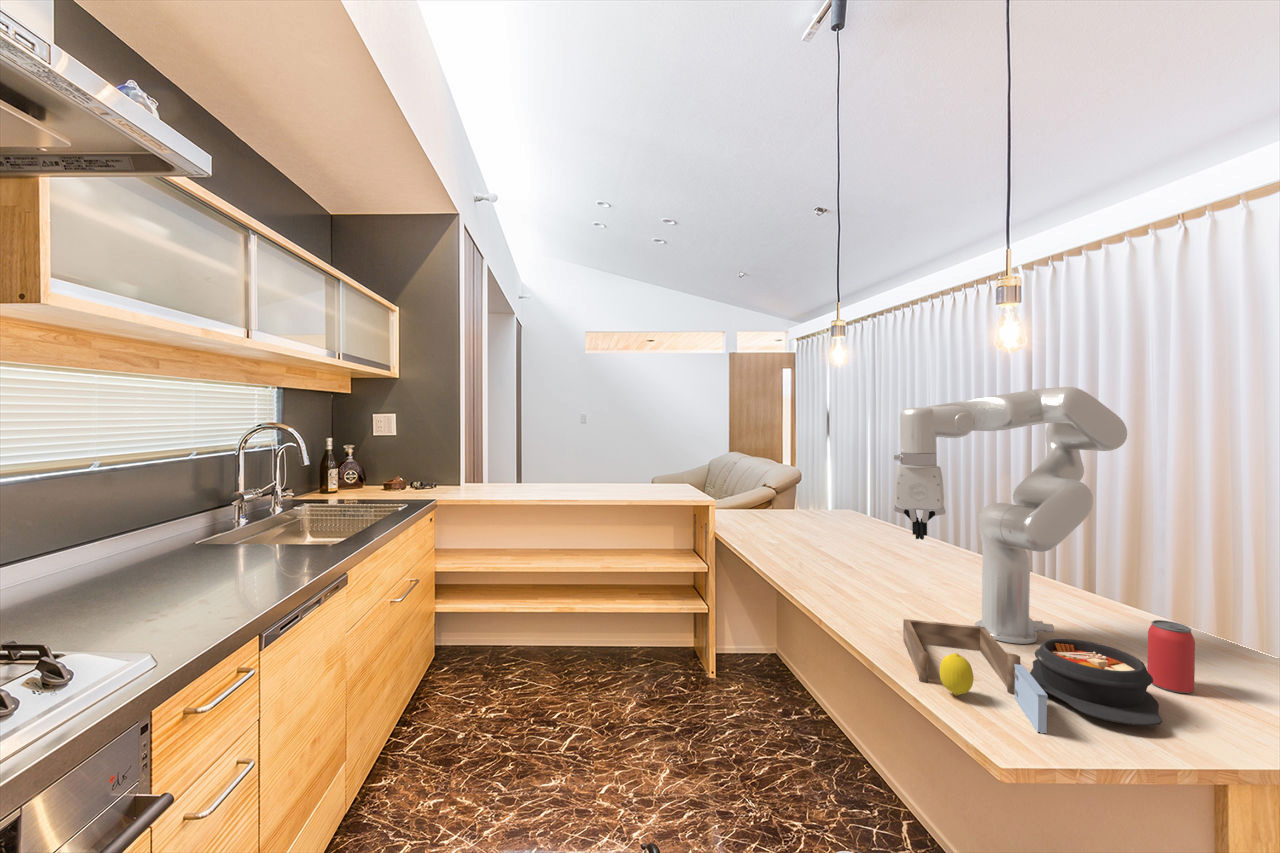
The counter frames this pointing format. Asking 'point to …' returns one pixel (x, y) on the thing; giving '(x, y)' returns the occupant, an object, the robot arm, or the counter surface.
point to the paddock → (957, 646)
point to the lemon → (956, 674)
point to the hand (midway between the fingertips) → (919, 538)
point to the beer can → (1171, 656)
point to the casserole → (1097, 681)
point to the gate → (1031, 698)
